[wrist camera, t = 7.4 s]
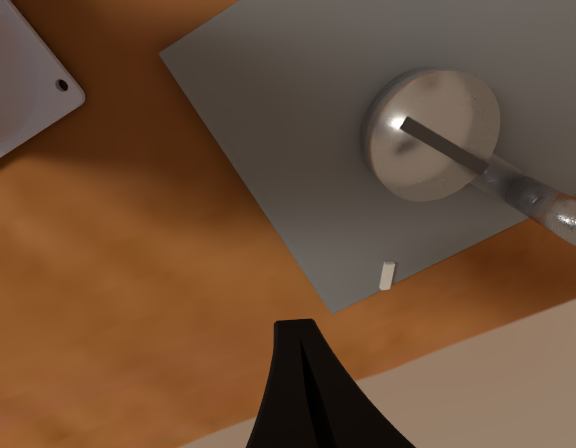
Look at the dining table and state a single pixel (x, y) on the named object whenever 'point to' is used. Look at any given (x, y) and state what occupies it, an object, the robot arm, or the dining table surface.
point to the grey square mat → (350, 112)
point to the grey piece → (451, 146)
